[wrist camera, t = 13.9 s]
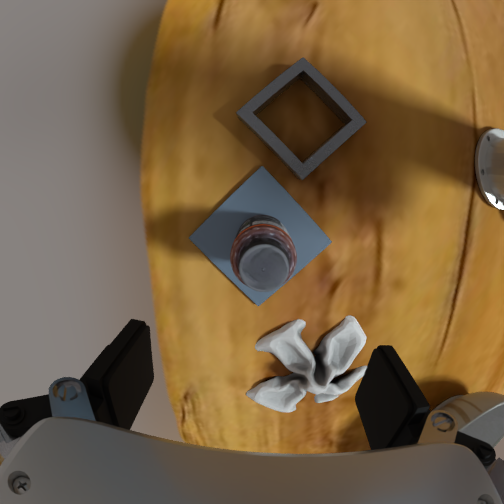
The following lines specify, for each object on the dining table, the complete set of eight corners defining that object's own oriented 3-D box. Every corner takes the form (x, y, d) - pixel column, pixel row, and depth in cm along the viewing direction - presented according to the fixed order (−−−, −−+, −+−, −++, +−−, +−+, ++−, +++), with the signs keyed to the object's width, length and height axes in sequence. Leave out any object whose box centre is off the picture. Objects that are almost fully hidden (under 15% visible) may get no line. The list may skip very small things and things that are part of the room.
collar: (358, 126, 30) (366, 122, 27) (298, 179, 32) (302, 180, 29) (299, 66, 28) (303, 57, 25) (238, 118, 30) (236, 112, 27)
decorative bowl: (419, 376, 39) (449, 422, 27) (507, 358, 39) (536, 387, 27) (372, 462, 46) (384, 502, 34) (458, 439, 46) (475, 469, 34)
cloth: (248, 412, 42) (247, 439, 36) (238, 318, 37) (234, 343, 31) (377, 398, 41) (387, 422, 35) (396, 304, 36) (415, 325, 30)
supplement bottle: (275, 271, 34) (281, 315, 23) (229, 252, 34) (214, 288, 23) (296, 225, 33) (314, 250, 22) (248, 205, 32) (242, 220, 21)
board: (330, 240, 34) (332, 241, 33) (258, 304, 36) (258, 306, 36) (262, 165, 32) (262, 165, 31) (189, 236, 34) (188, 237, 34)
